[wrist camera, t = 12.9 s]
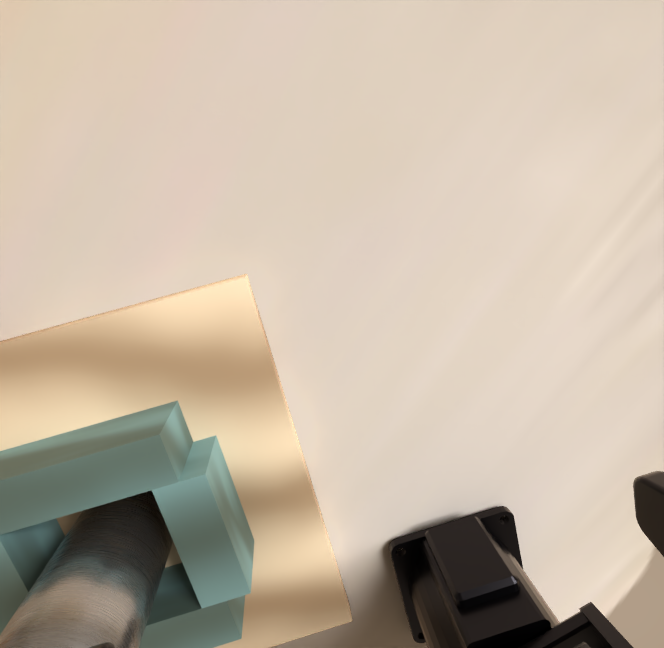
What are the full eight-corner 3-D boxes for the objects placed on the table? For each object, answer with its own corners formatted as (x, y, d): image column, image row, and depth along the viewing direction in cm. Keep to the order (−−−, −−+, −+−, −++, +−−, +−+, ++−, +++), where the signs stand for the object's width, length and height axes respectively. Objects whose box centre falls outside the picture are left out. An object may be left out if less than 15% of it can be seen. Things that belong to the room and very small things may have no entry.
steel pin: (190, 544, 20) (111, 841, 11) (103, 570, 20) (-57, 897, 11) (159, 469, 19) (40, 724, 10) (67, 496, 19) (-147, 784, 9)
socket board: (349, 604, 23) (363, 681, 20) (45, 700, 23) (-2, 800, 19) (246, 273, 19) (239, 289, 15) (-141, 379, 18) (-255, 424, 14)
